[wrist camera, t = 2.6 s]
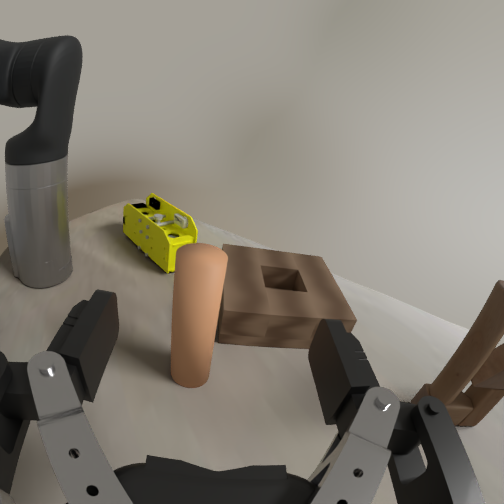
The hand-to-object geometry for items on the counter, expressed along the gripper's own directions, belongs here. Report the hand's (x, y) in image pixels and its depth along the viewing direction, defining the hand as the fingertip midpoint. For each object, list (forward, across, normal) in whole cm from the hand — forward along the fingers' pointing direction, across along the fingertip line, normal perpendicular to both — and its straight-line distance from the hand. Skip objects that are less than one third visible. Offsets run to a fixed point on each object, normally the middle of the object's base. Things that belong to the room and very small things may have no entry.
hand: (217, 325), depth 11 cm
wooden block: (+5, +29, -18) cm, 34 cm away
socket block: (+25, +9, -17) cm, 32 cm away
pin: (+12, -1, -17) cm, 21 cm away
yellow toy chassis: (+37, -10, -17) cm, 42 cm away
